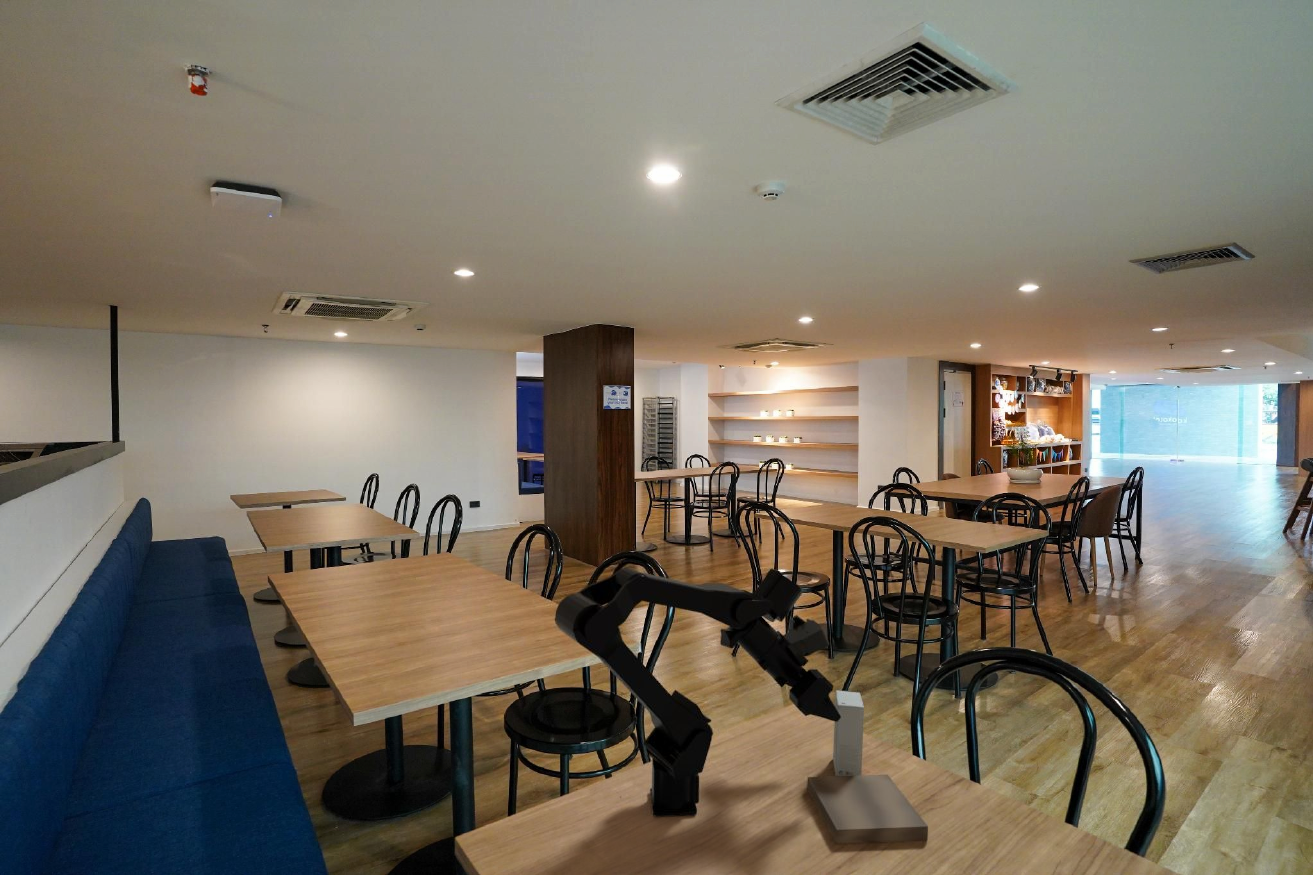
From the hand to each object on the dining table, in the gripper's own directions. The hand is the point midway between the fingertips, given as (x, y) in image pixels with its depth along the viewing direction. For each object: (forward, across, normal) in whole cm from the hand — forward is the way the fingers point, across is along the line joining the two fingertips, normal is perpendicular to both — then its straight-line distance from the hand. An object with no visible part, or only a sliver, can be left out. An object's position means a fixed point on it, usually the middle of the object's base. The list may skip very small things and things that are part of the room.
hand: (826, 706), depth 109 cm
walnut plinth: (+8, -12, +7) cm, 16 cm away
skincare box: (+11, 0, +5) cm, 12 cm away
